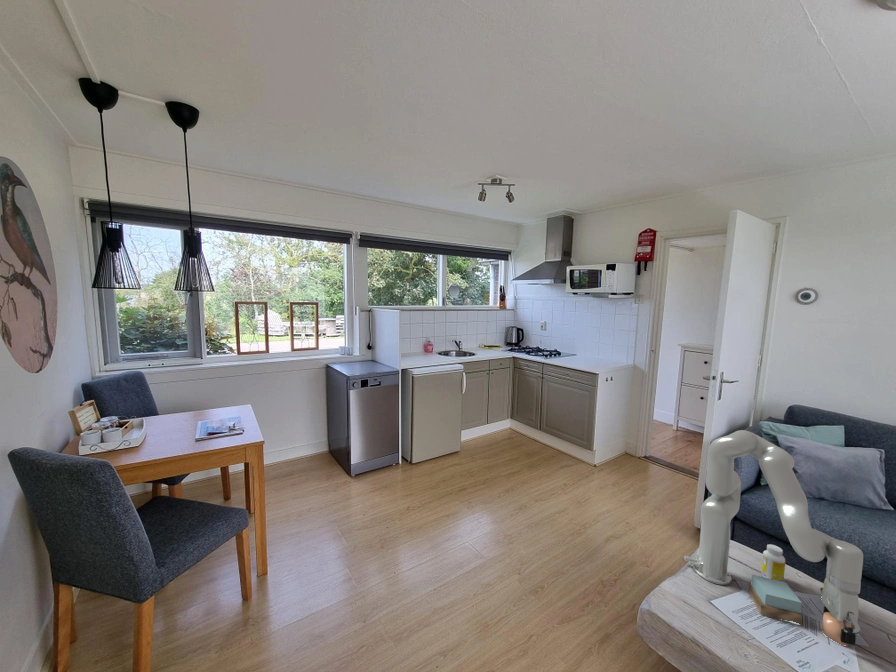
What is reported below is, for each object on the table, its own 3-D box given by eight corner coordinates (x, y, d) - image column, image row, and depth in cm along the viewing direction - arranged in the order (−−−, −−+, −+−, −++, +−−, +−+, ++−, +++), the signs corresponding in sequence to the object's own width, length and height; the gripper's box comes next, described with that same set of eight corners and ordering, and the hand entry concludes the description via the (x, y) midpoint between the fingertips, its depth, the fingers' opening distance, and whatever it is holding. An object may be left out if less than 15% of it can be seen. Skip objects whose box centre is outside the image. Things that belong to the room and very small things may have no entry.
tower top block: (764, 604, 126) (765, 594, 125) (751, 584, 135) (752, 574, 135) (800, 613, 122) (801, 602, 122) (784, 592, 132) (785, 582, 131)
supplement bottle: (786, 582, 142) (790, 551, 141) (777, 586, 139) (780, 555, 138) (766, 570, 148) (769, 541, 147) (757, 574, 145) (760, 544, 145)
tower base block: (760, 615, 126) (761, 604, 125) (748, 593, 136) (749, 583, 136) (800, 627, 121) (802, 616, 121) (785, 603, 132) (786, 593, 131)
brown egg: (828, 641, 116) (830, 624, 116) (817, 626, 122) (819, 609, 121) (855, 649, 113) (857, 631, 113) (842, 633, 119) (844, 616, 119)
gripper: (813, 561, 126) (809, 607, 127) (843, 596, 110) (838, 648, 111) (842, 567, 123) (837, 615, 124) (877, 604, 107) (872, 658, 108)
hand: (838, 631), depth 117 cm, fingers open, 9 cm apart
